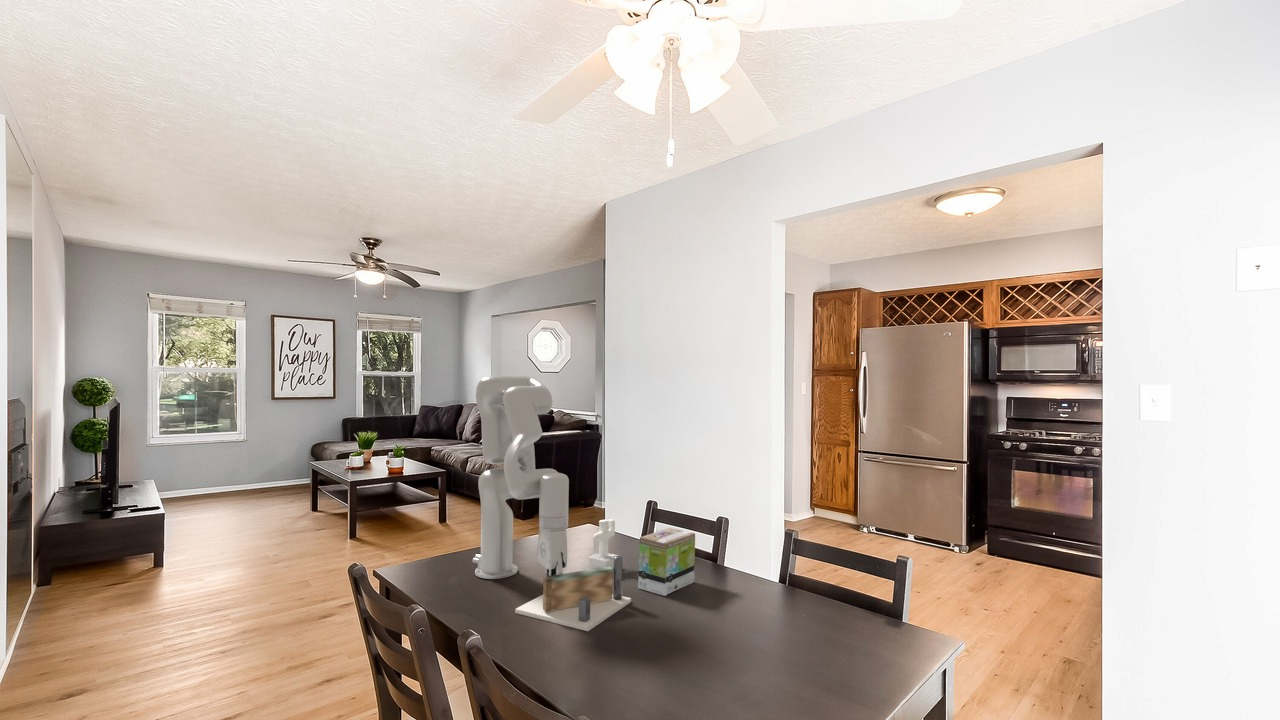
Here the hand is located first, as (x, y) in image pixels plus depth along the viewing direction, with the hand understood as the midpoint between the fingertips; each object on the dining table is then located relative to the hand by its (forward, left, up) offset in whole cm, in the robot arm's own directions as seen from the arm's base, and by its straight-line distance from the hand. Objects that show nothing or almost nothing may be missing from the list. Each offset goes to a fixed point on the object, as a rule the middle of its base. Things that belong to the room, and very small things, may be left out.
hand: (552, 592), depth 154 cm
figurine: (-5, +34, -4) cm, 34 cm away
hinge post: (+13, +4, -4) cm, 14 cm away
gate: (+7, +2, -3) cm, 7 cm away
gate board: (+5, +3, -4) cm, 7 cm away
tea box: (+19, +30, -4) cm, 35 cm away
